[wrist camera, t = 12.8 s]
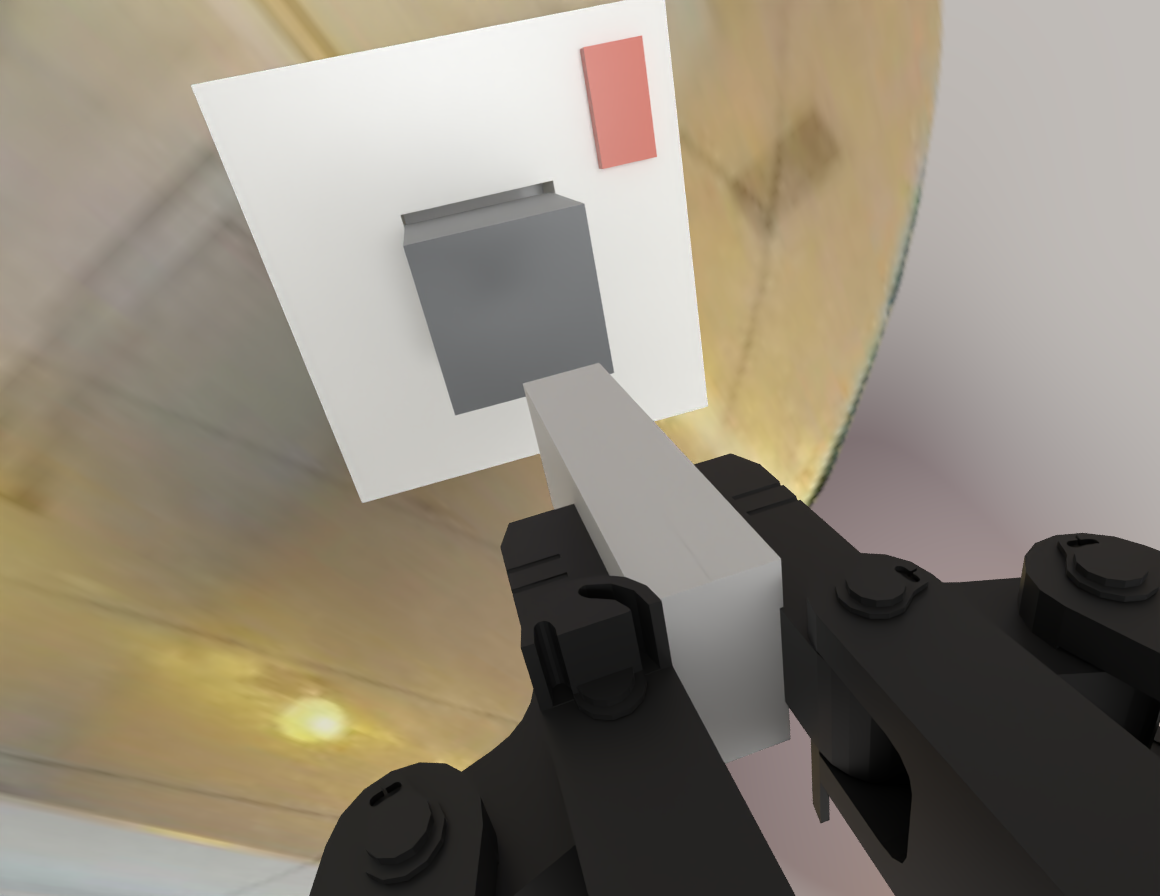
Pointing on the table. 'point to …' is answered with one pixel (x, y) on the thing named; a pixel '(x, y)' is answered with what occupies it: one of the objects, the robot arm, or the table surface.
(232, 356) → the table surface
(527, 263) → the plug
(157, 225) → the table surface
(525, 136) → the socket plate
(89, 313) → the table surface
